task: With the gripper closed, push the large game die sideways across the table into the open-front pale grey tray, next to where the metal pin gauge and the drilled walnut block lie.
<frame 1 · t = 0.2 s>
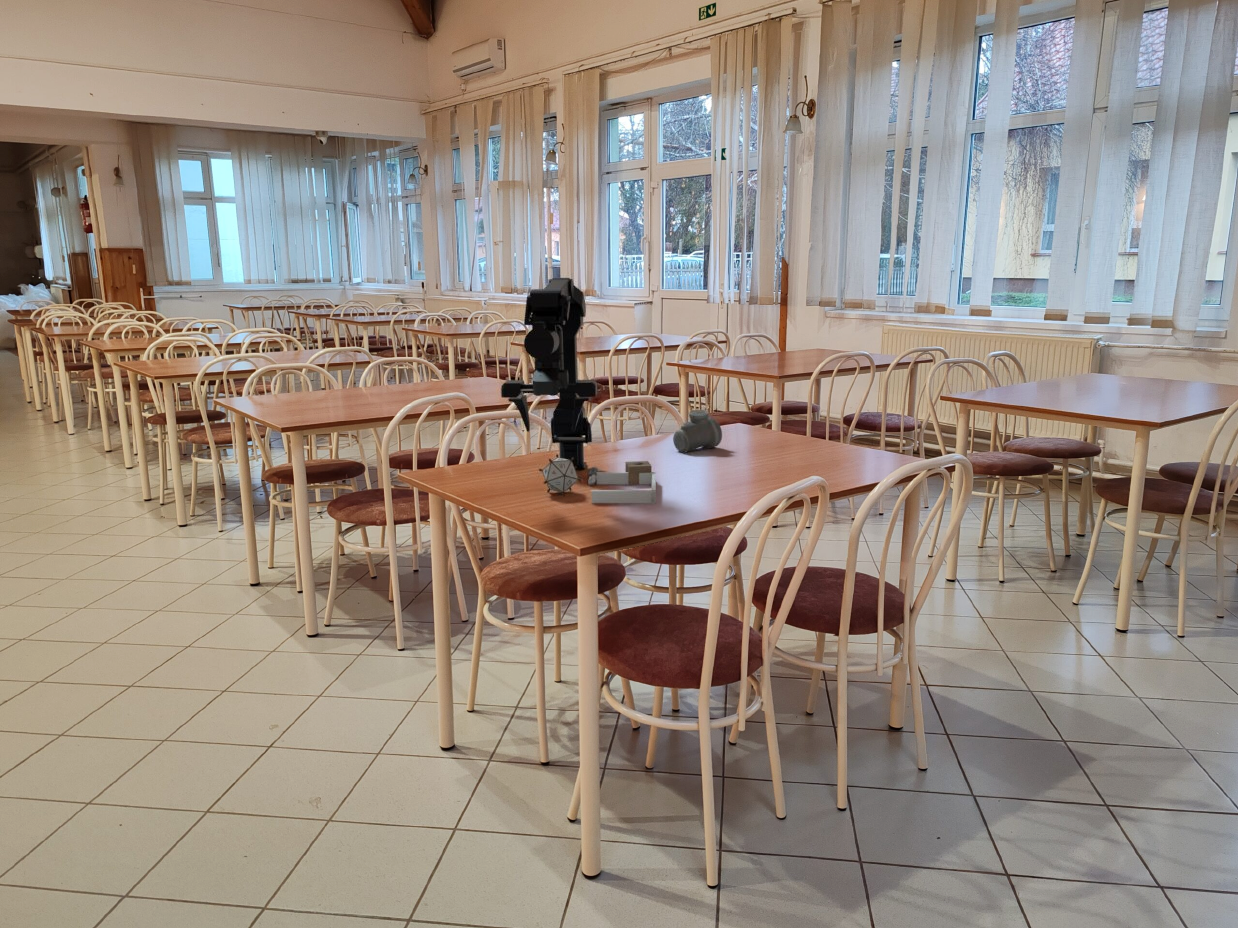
hand: (551, 431, 176), 14 cm above the table, fingers open, 9 cm apart
game die: (560, 494, 182), on the table
drilled block: (638, 481, 191), on the table
pipe fitting: (695, 450, 225), on the table
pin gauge: (593, 481, 192), on the table
tray: (623, 492, 181), on the table
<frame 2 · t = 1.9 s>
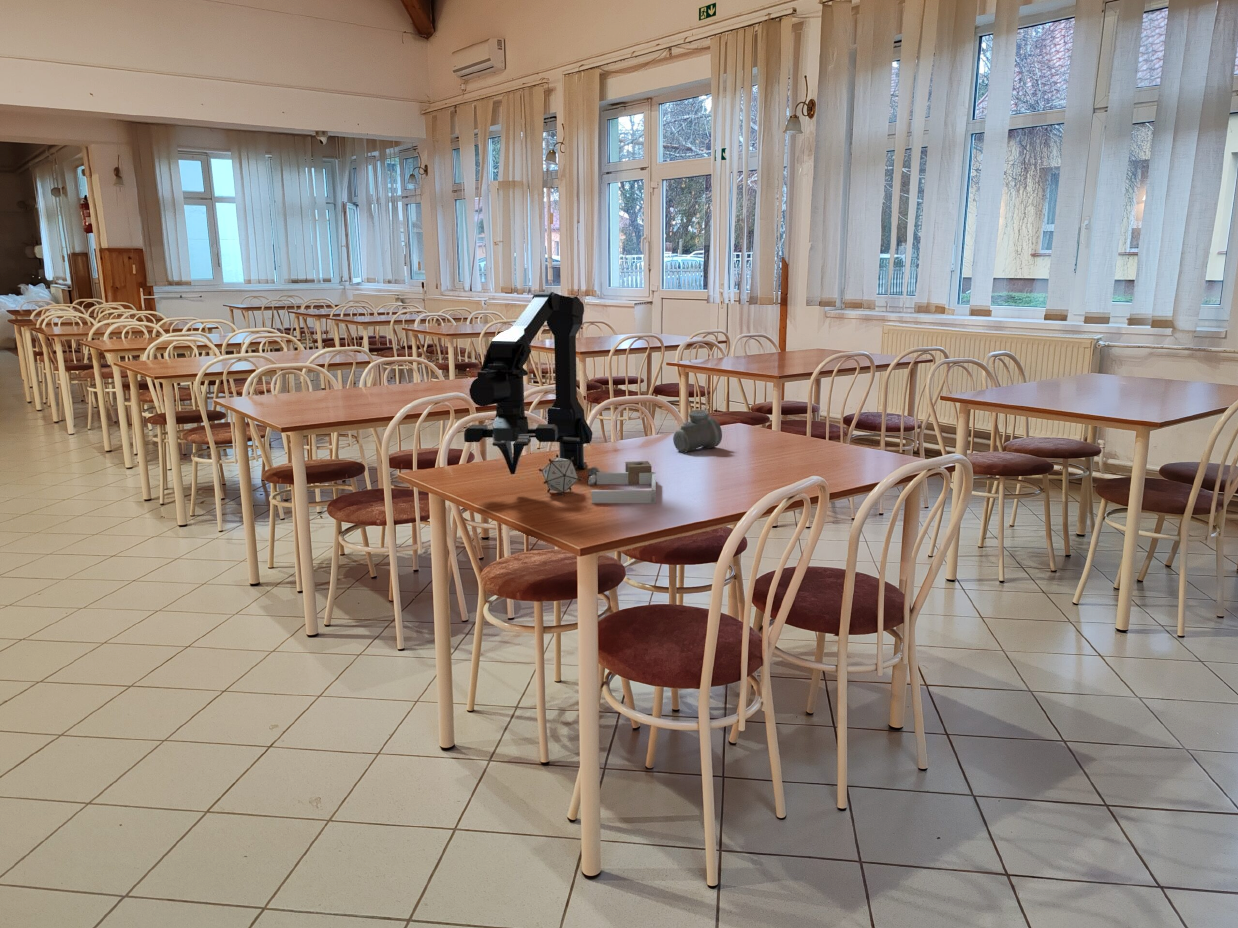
hand: (513, 473, 182), 4 cm above the table, fingers closed
nothing on the table moved.
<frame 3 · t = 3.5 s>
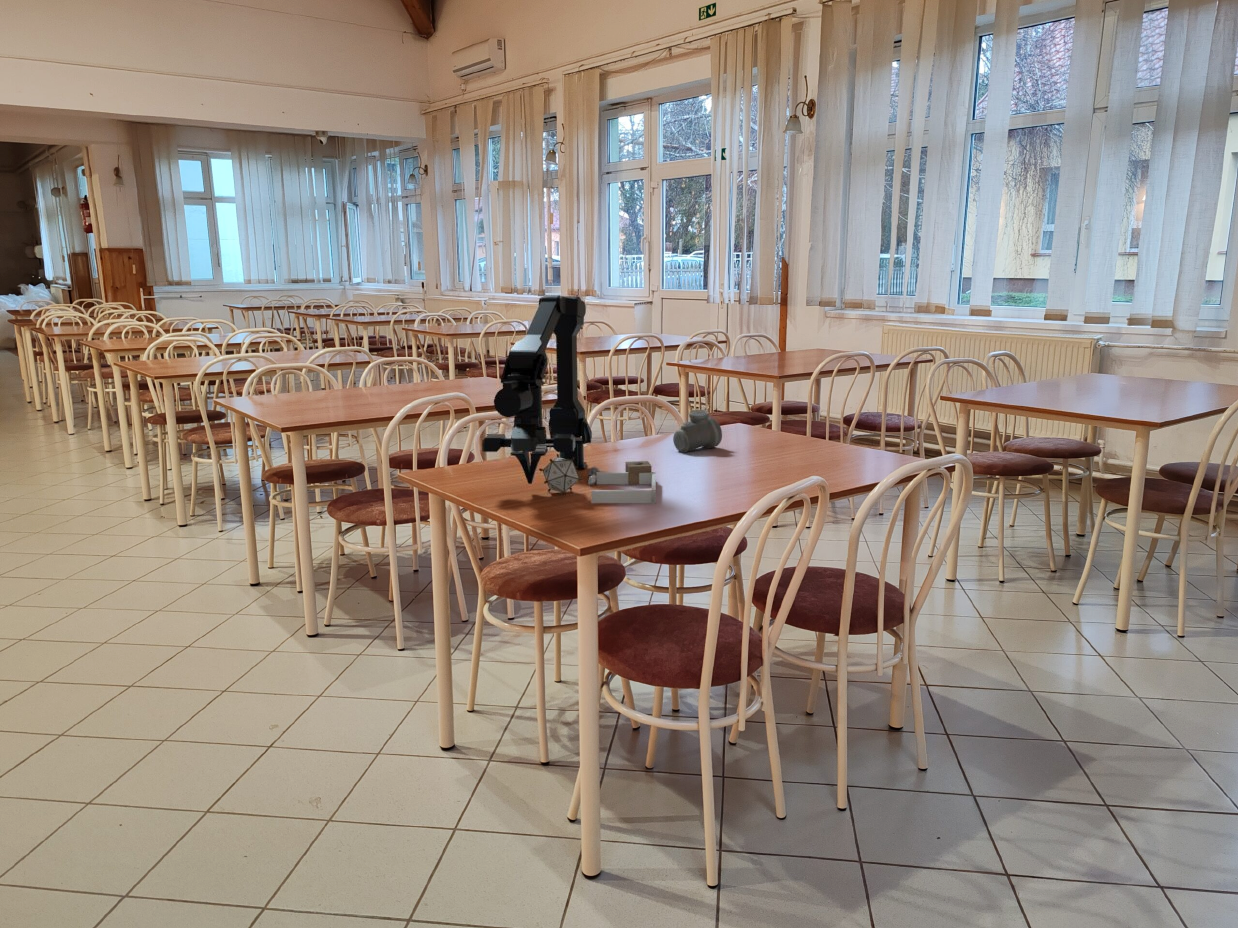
hand: (530, 483, 182), 2 cm above the table, fingers closed
game die: (561, 493, 182), on the table, touching gripper
everything else where it was.
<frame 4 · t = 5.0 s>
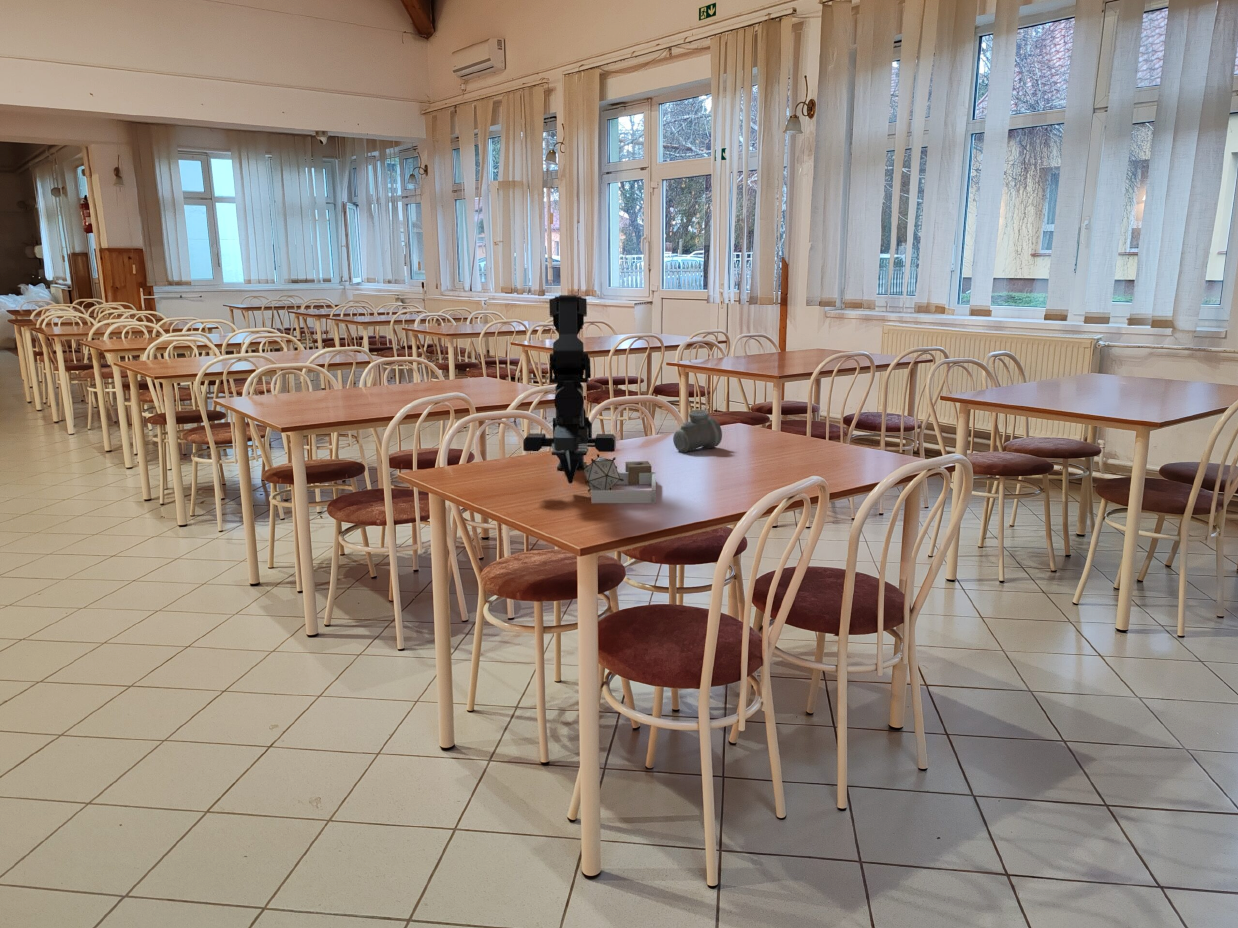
hand: (570, 483, 181), 2 cm above the table, fingers closed
game die: (601, 493, 181), on the table, touching gripper
everything else where it was.
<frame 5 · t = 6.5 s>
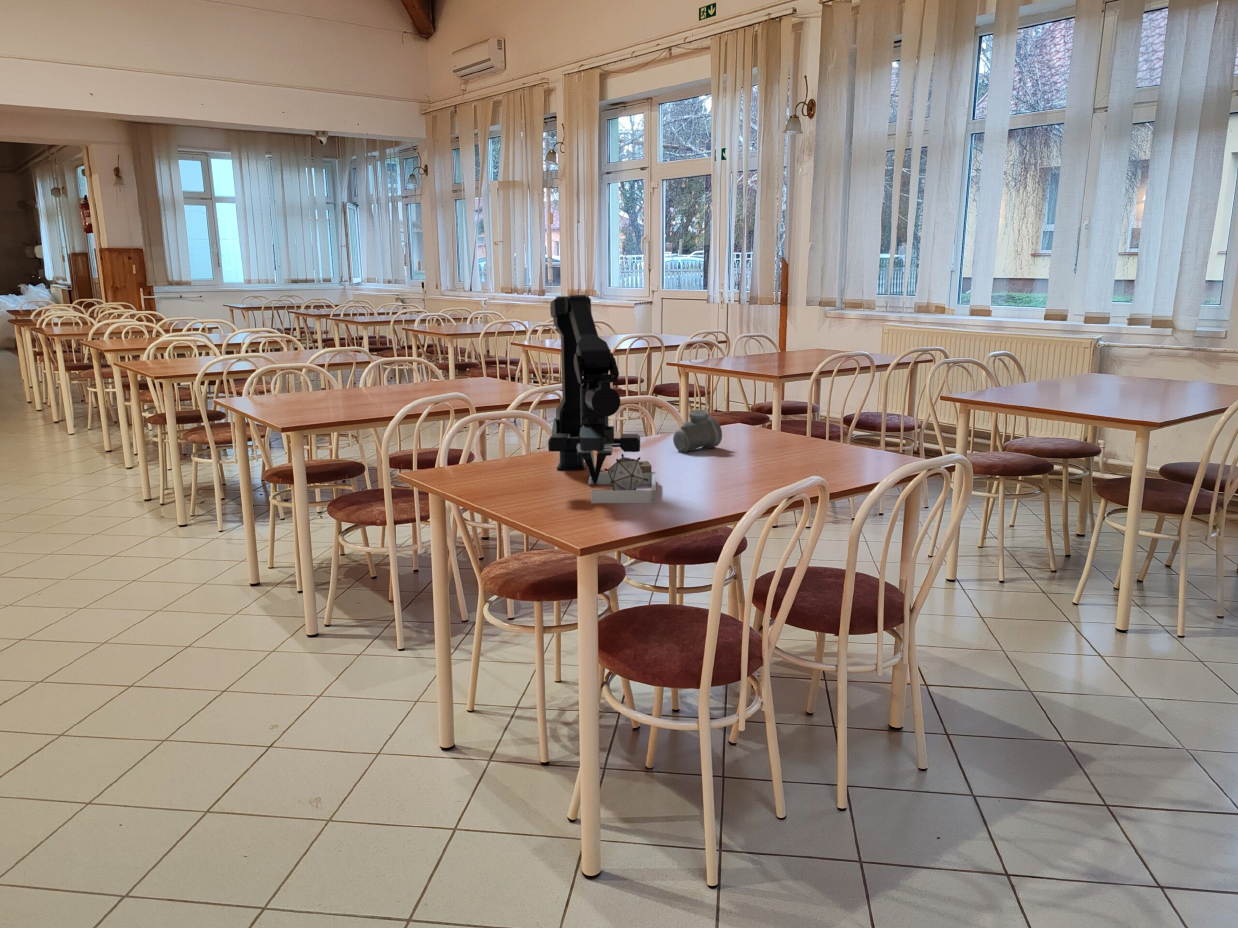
hand: (595, 483, 181), 2 cm above the table, fingers closed
game die: (626, 493, 181), on the table, touching gripper
everything else where it was.
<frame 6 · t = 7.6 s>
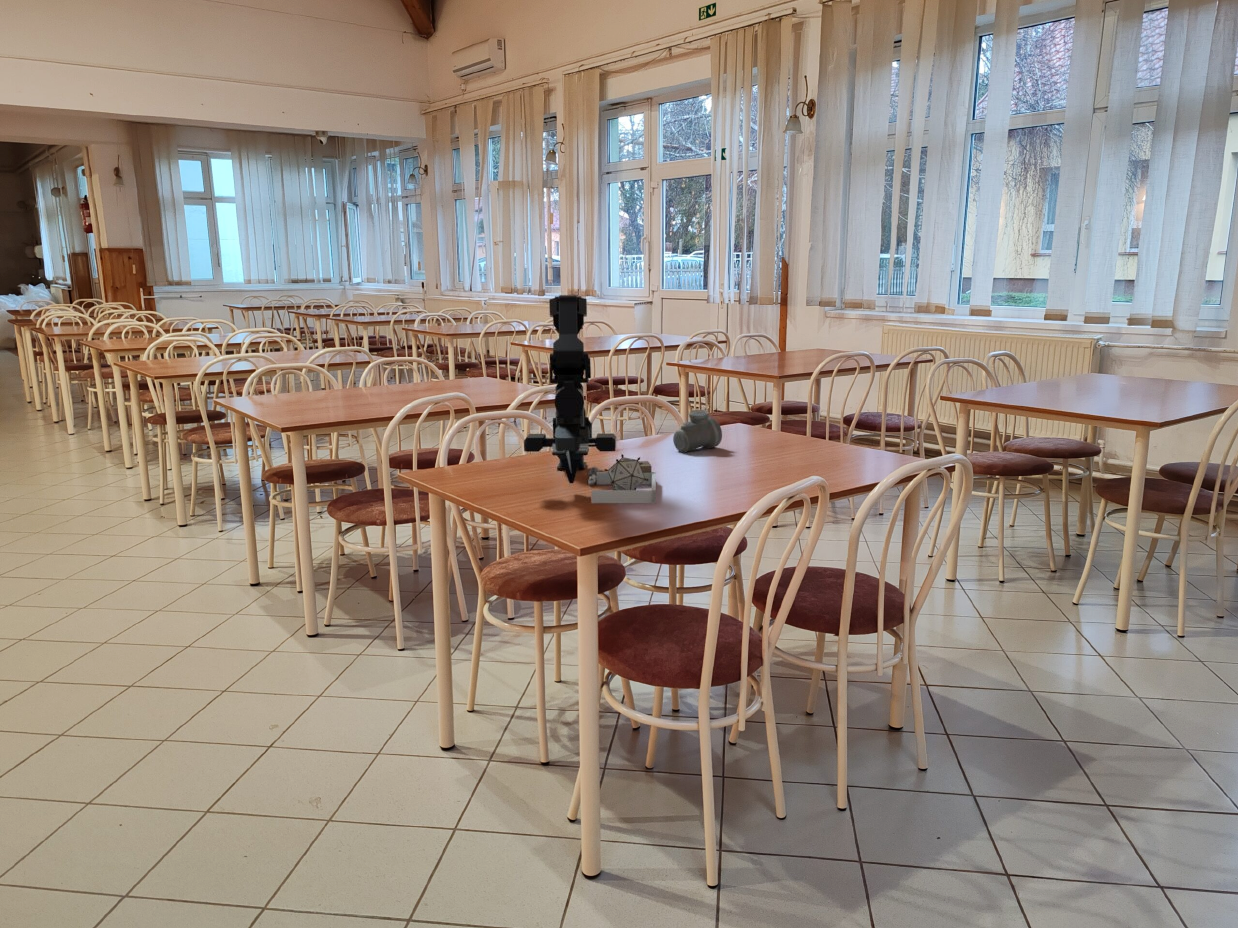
hand: (571, 483, 181), 2 cm above the table, fingers closed
game die: (626, 494, 181), on the table
everything else where it was.
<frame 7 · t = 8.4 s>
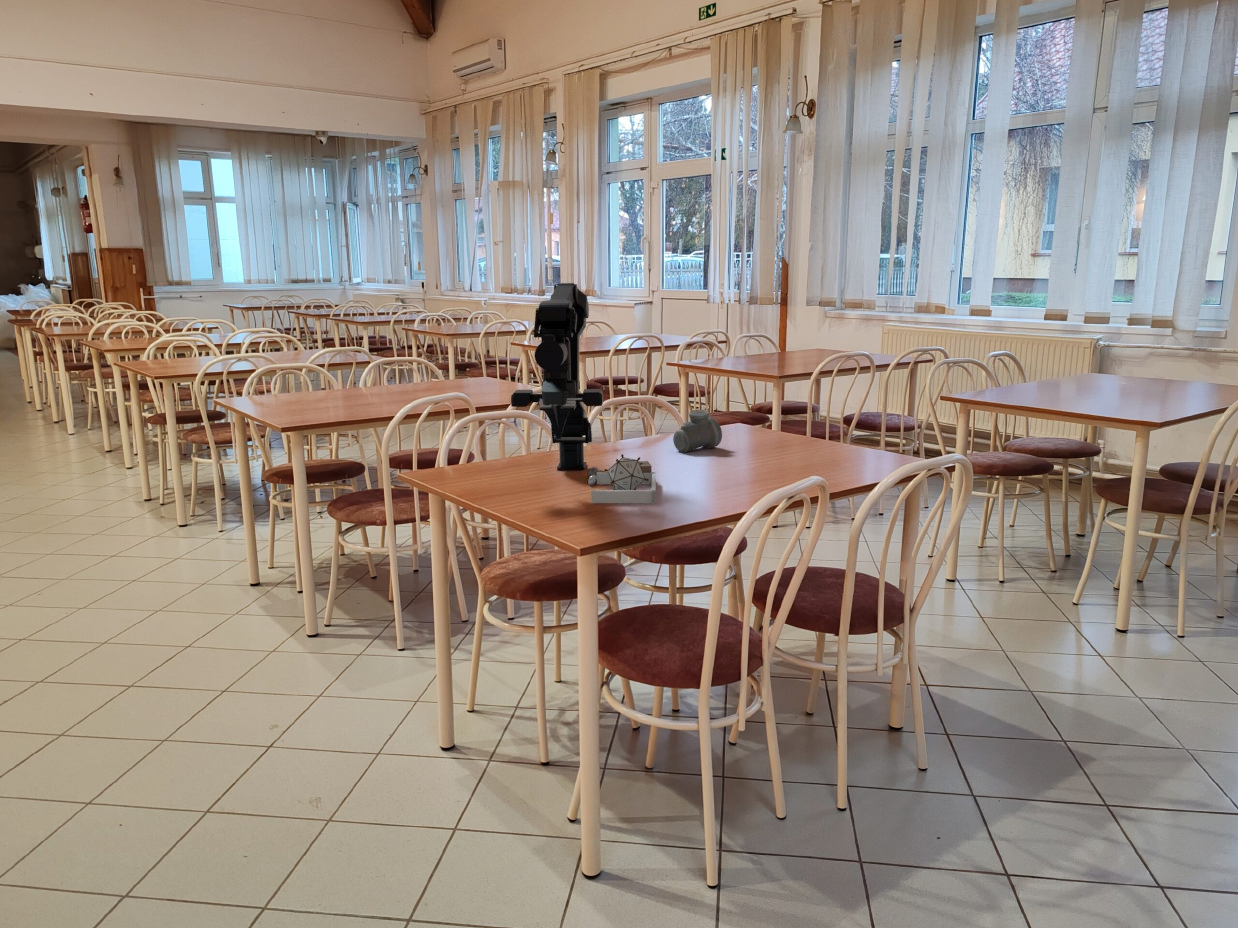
hand: (558, 438, 182), 11 cm above the table, fingers closed
nothing on the table moved.
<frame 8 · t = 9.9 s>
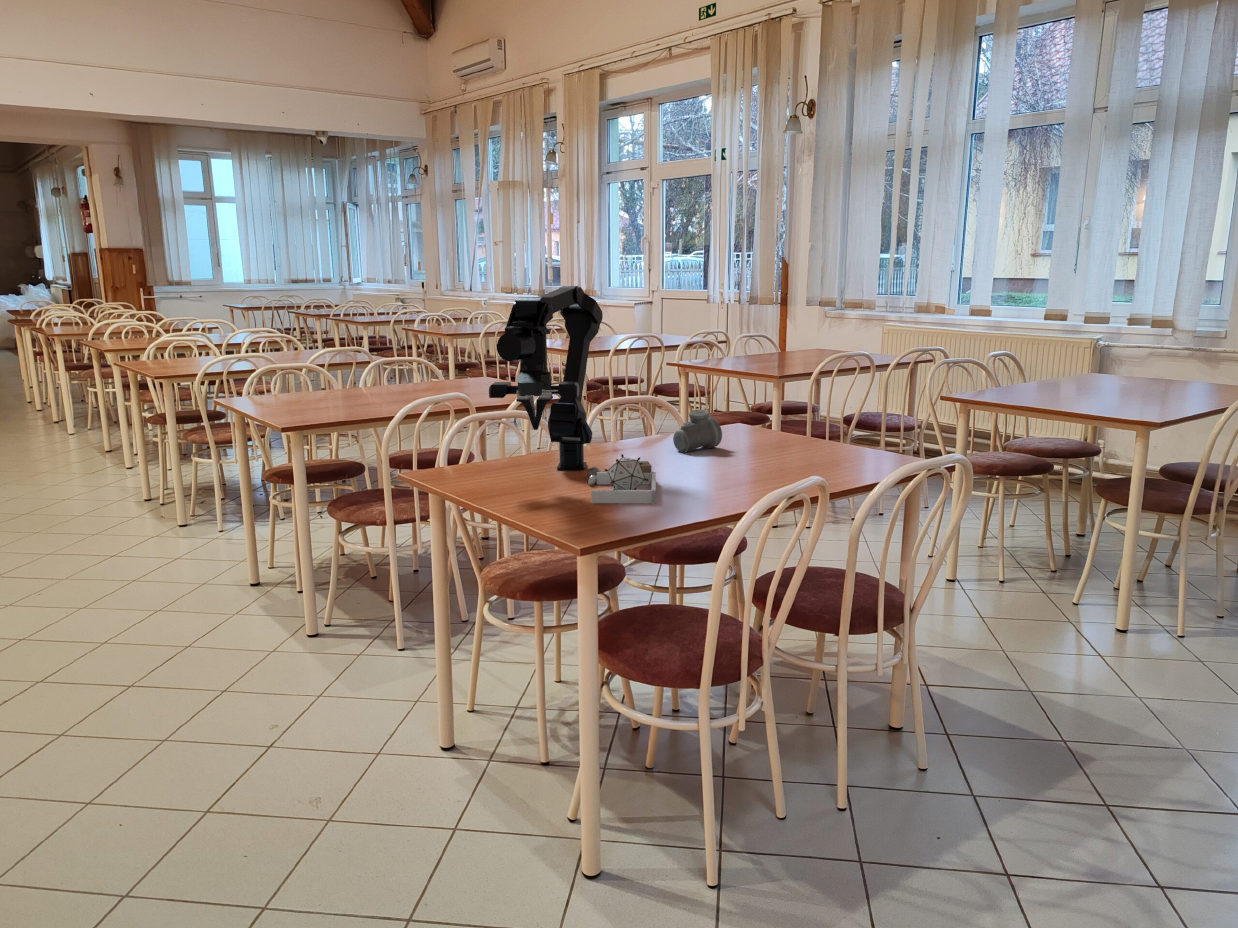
hand: (535, 429, 187), 12 cm above the table, fingers closed
nothing on the table moved.
at the end: game die inside the target area (0.3 cm from its centre), on the table; game die tilted 0° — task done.
